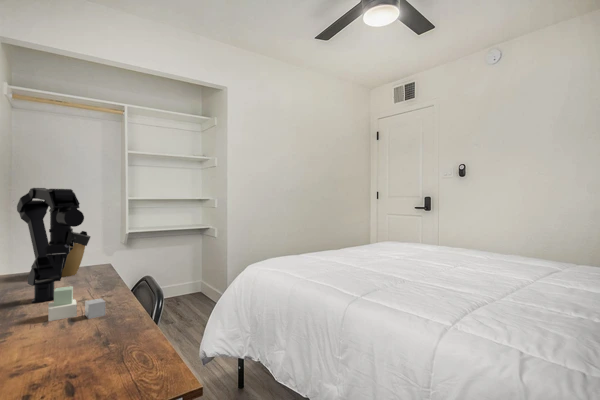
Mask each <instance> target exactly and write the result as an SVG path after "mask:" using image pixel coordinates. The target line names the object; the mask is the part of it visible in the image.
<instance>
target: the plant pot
mask: <svg viewBox="0 0 600 400" xmlns="http://www.w3.org/2000/svg"><path fill="white" fill-rule="evenodd" d="M70 247H71V246H70ZM85 249H86V246H84V245H82V244H78V243H74V247H73V249H72V250H71V251H70V253H69V254H68V255H67V259H66V263H65V267H64V269H63V270H62V276H61V278H62V277H63V278H65V277H66V276H67V277H73V276H75V274H76V275H77V273H78V272H79V271H78V270H79V268H80V266H81V264H82V261H83V257H84V253H85ZM72 275H73V276H72ZM67 277H66V278H67Z"/></svg>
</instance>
